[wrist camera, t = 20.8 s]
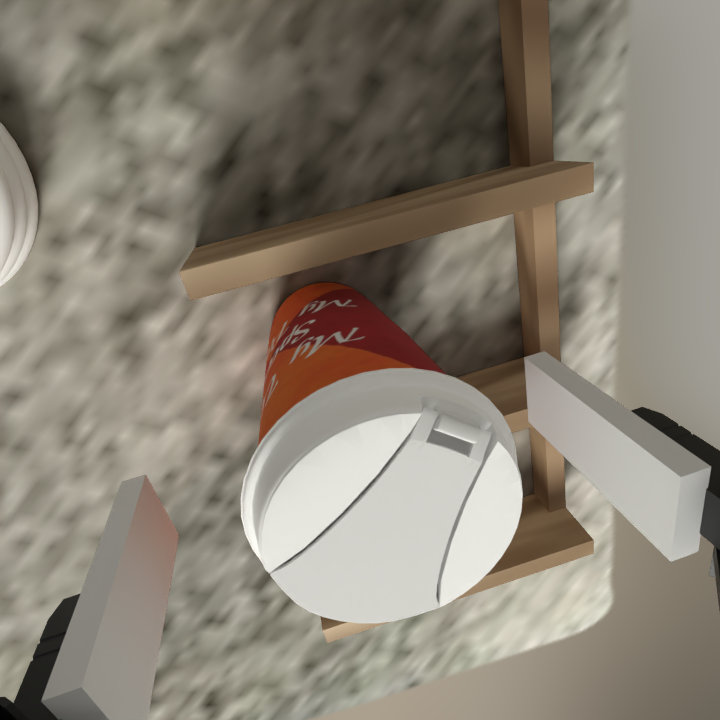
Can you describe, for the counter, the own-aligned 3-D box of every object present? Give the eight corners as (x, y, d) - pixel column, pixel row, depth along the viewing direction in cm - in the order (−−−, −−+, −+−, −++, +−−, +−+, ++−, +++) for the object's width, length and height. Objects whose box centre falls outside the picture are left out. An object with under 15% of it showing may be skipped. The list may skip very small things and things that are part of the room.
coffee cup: (285, 232, 23) (324, 342, 10) (423, 296, 26) (598, 450, 13) (224, 375, 26) (189, 619, 12) (357, 419, 29) (445, 659, 15)
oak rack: (86, -40, 18) (29, -101, 14) (516, -129, 19) (593, -211, 15) (318, 576, 33) (327, 643, 29) (550, 500, 35) (593, 553, 30)
